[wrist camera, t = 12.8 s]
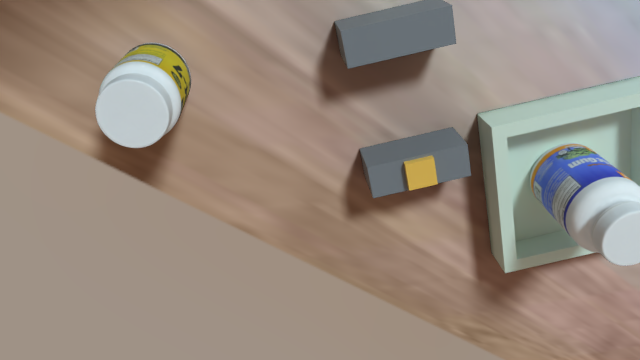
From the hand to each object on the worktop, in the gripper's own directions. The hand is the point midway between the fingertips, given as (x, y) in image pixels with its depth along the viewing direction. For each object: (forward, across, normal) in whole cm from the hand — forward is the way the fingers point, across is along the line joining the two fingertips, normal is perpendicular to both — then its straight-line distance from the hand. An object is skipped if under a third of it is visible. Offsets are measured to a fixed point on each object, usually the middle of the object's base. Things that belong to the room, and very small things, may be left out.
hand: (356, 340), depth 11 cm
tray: (+31, +18, -16) cm, 39 cm away
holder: (+31, +7, -6) cm, 33 cm away
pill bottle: (+31, +18, -16) cm, 39 cm away
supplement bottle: (+32, -9, -1) cm, 33 cm away
